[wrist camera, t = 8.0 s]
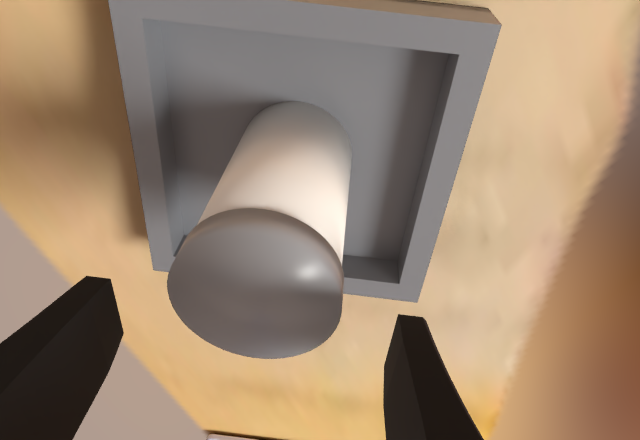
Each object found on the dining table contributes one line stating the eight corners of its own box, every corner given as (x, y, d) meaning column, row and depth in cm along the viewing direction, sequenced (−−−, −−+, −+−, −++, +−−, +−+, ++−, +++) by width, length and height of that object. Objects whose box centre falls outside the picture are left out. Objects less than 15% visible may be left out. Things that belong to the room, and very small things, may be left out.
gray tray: (414, 272, 23) (417, 302, 21) (168, 242, 23) (153, 270, 22) (488, 8, 16) (501, 24, 14) (131, -33, 16) (104, -21, 14)
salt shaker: (346, 208, 20) (332, 368, 14) (240, 194, 21) (175, 346, 14) (362, 107, 18) (352, 246, 11) (239, 91, 18) (157, 220, 11)
